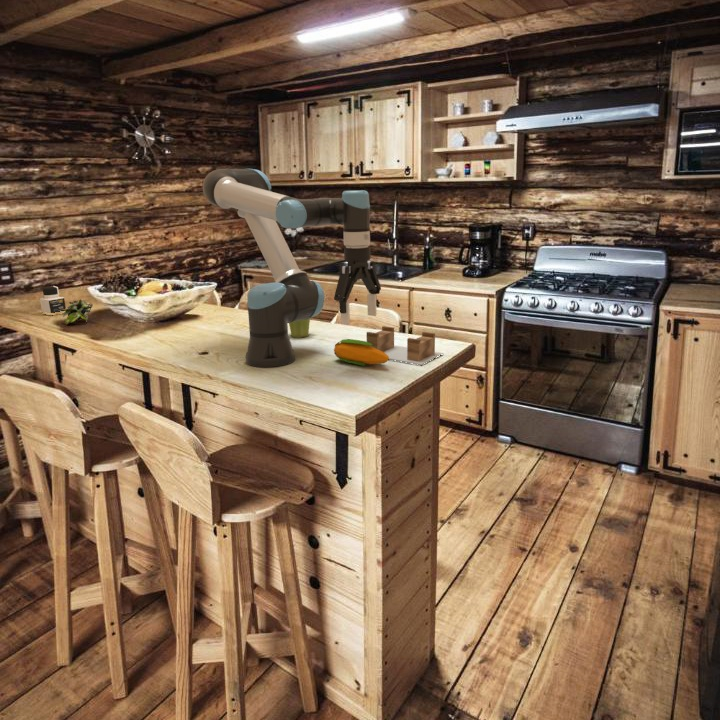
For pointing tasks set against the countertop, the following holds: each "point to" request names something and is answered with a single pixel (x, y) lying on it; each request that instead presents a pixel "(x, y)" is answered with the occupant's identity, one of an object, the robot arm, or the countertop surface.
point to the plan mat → (401, 355)
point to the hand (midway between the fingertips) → (359, 319)
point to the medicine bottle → (52, 300)
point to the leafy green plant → (77, 311)
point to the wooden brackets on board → (415, 347)
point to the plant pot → (300, 328)
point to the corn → (359, 352)
